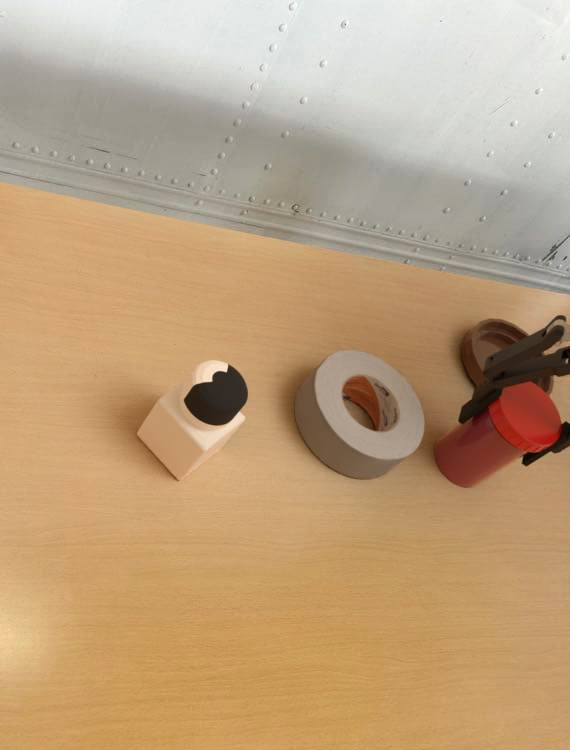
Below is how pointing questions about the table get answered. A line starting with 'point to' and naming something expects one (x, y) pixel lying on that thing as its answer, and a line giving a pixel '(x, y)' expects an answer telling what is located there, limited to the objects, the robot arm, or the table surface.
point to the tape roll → (341, 431)
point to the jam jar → (474, 451)
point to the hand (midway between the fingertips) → (494, 436)
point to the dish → (494, 348)
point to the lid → (526, 417)
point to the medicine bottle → (196, 417)
